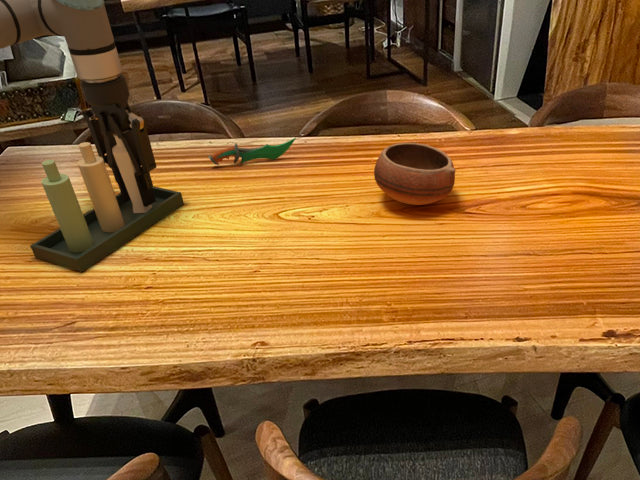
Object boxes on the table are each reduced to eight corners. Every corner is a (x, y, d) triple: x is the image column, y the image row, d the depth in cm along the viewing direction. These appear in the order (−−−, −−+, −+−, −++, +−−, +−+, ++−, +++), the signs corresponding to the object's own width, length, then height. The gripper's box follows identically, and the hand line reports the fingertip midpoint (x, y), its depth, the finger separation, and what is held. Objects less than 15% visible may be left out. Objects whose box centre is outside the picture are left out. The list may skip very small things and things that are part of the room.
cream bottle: (96, 229, 118) (65, 147, 108) (112, 219, 121) (84, 137, 110) (113, 234, 117) (84, 151, 106) (129, 223, 120) (103, 141, 109)
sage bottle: (63, 249, 113) (28, 165, 102) (82, 238, 116) (49, 154, 105) (81, 255, 112) (47, 169, 101) (99, 243, 114) (67, 159, 104)
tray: (35, 258, 112) (29, 245, 111) (140, 194, 130) (137, 182, 129) (81, 272, 108) (76, 259, 107) (184, 204, 126) (181, 192, 125)
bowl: (462, 214, 120) (465, 164, 113) (381, 222, 118) (380, 172, 112) (443, 179, 131) (445, 131, 125) (369, 186, 130) (368, 139, 123)
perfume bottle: (155, 211, 123) (133, 136, 113) (132, 215, 122) (108, 140, 112) (153, 201, 126) (131, 127, 116) (130, 205, 125) (107, 131, 115)
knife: (211, 169, 138) (206, 147, 135) (210, 166, 140) (205, 144, 136) (299, 158, 142) (296, 136, 138) (298, 154, 143) (295, 133, 140)
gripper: (155, 75, 107) (186, 201, 123) (80, 64, 113) (120, 185, 129) (124, 89, 102) (161, 218, 118) (48, 77, 108) (93, 201, 124)
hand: (139, 200), depth 123 cm, fingers closed on perfume bottle, 4 cm apart
